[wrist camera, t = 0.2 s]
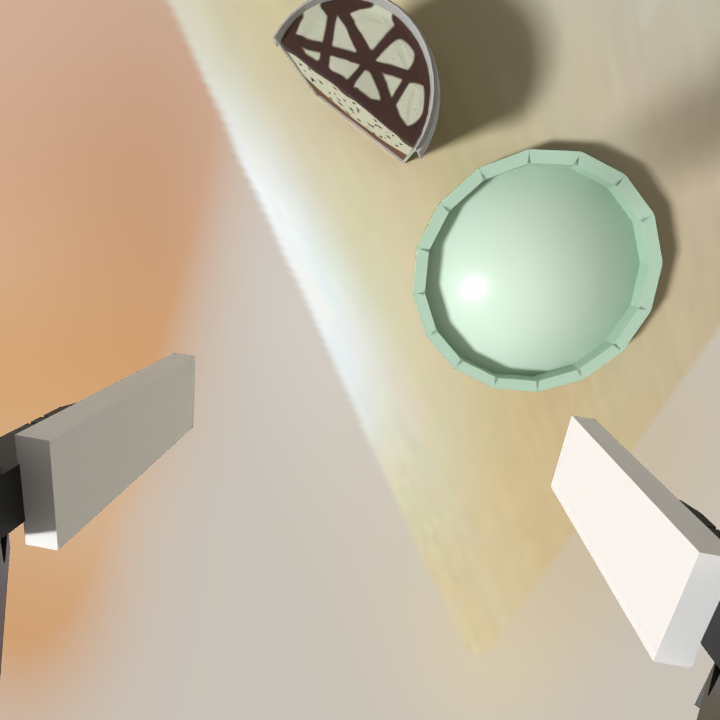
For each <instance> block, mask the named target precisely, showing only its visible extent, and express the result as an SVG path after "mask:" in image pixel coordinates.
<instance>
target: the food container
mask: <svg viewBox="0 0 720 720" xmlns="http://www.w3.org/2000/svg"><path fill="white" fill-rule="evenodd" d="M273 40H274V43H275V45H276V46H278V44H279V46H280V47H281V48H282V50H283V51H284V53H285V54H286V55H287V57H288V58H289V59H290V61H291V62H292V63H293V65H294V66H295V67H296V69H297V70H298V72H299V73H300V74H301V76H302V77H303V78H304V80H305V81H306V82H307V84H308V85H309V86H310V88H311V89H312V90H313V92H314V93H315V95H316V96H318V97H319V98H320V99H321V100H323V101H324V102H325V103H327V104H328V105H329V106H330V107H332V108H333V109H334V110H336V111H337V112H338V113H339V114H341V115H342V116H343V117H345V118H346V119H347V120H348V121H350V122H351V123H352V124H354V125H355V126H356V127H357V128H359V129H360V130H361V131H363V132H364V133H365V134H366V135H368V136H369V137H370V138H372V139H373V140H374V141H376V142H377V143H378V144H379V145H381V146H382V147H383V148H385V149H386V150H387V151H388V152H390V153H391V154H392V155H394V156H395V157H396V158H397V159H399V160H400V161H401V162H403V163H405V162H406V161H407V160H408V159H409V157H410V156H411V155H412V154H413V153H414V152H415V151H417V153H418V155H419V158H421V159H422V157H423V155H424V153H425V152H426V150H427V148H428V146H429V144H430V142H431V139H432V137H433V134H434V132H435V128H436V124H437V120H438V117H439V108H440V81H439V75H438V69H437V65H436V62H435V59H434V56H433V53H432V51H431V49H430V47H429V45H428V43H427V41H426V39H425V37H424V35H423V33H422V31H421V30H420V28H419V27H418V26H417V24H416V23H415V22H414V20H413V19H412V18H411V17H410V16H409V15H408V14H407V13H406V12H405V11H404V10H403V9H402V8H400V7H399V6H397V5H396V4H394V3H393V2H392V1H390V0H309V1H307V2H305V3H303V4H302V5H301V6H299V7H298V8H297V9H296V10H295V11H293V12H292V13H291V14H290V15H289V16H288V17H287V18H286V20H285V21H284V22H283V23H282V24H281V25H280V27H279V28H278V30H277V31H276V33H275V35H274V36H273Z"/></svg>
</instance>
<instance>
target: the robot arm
mask: <svg viewBox="0 0 720 720" xmlns="http://www.w3.org/2000/svg"><path fill="white" fill-rule="evenodd" d="M194 377H195V356H191V355H185V354H179V353H173V354H171V355H169V356H167V357H165V358H163V359H161V360H159V361H157V362H155V363H153V364H151V365H150V366H148V367H146V368H144V369H142V370H140V371H138V372H136V373H134V374H132V375H130V376H128V377H126V378H124V379H122V380H120V381H118V382H116V383H114V384H113V385H110V386H109V387H107V388H105V389H103V390H101V391H99V392H97V393H95V394H93V395H91V396H89V397H87V398H85V399H83V400H81V401H79V402H77V403H74V404H70V405H66V406H63V407H59V408H58V409H55V410H53V411H51V412H50V413H47V414H45V415H44V417H39V418H37V419H35V420H34V421H32V422H31V424H25V425H24V426H22V427H20V428H18V429H16V430H14V431H12V432H10V433H8V434H6V435H4V436H2V437H0V673H1V659H2V647H3V646H2V645H3V633H4V620H5V606H6V593H7V580H8V566H9V552H10V543H9V535H8V533H10V532H11V531H12V530H14V529H15V528H16V527H17V526H19V525H20V524H22V523H23V522H24V531H25V541H26V544H27V545H32V546H38V547H43V548H48V549H53V550H59V549H60V548H61V547H62V546H63V545H64V544H65V543H67V542H68V541H69V540H70V539H71V538H72V537H73V536H74V535H75V534H76V533H78V532H79V531H80V530H81V529H82V528H83V527H84V526H85V525H86V524H87V523H88V522H90V521H91V520H92V519H93V518H94V517H95V516H96V515H97V514H98V513H99V512H100V511H102V510H103V509H104V508H105V507H106V506H107V505H108V504H109V503H110V502H112V500H114V499H115V498H116V497H117V496H118V495H119V494H120V493H121V492H122V491H123V490H125V488H127V487H128V486H129V485H130V484H131V483H132V482H133V481H135V480H136V479H137V478H138V477H139V476H140V475H141V474H142V473H143V472H144V471H145V470H147V469H148V468H149V467H150V466H151V465H152V464H153V463H154V462H155V461H156V460H157V459H159V458H160V457H161V456H162V455H163V454H164V453H165V452H166V451H167V450H168V449H170V448H171V447H172V446H173V445H174V444H175V443H176V442H177V441H178V440H179V439H180V438H182V437H183V436H184V435H185V434H186V433H187V432H188V431H189V430H190V429H191V428H193V419H194V416H193V415H194V379H195V378H194ZM551 488H552V489H553V491H554V493H555V494H556V496H557V498H558V500H559V501H560V503H561V505H562V506H563V508H564V510H565V512H566V513H567V515H568V517H569V518H570V520H571V522H572V523H573V525H574V527H575V529H576V530H577V532H578V534H579V535H580V537H581V539H582V540H583V542H584V544H585V545H586V547H587V549H588V551H589V552H590V554H591V556H592V557H593V559H594V561H595V563H596V564H597V566H598V568H599V569H600V571H601V573H602V574H603V576H604V578H605V580H606V581H607V583H608V585H609V587H610V588H611V590H612V592H613V593H614V595H615V597H616V599H617V600H618V601H619V604H620V605H621V607H622V608H623V610H624V612H625V614H626V616H627V617H628V619H629V621H630V622H631V624H632V625H633V628H634V629H635V631H636V633H637V634H638V636H639V638H640V639H641V641H642V643H643V644H644V646H645V648H646V650H647V651H648V653H649V655H650V656H651V658H652V660H653V661H656V662H660V663H666V664H671V665H677V666H682V667H688V668H691V667H692V665H693V662H694V660H695V658H696V656H697V654H698V652H699V649H700V647H701V645H702V646H703V647H704V648H705V650H706V651H707V652H708V654H709V655H710V657H711V658H712V659H713V661H714V662H715V663H714V665H713V667H712V670H711V672H710V674H709V676H708V678H707V680H706V682H705V684H704V686H703V688H702V691H701V692H700V694H699V697H698V699H697V701H696V703H695V705H696V706H697V707H699V708H700V710H699V714H698V718H697V720H720V530H717V529H716V527H715V526H714V525H713V524H712V523H711V522H710V521H709V520H708V519H707V518H706V517H705V516H704V515H702V514H701V513H700V512H698V511H697V510H695V509H693V508H692V507H690V506H689V505H687V504H686V503H684V502H683V501H681V500H678V499H677V498H676V497H675V496H674V495H673V494H672V493H671V492H670V491H669V490H668V489H667V488H666V487H665V486H664V485H663V484H662V483H661V482H660V481H659V480H658V479H657V478H656V477H654V476H653V475H652V474H651V473H650V472H649V471H648V470H647V469H646V468H645V467H644V466H643V465H642V464H641V463H640V462H639V461H638V460H637V459H636V458H635V457H634V456H633V455H632V454H631V453H630V452H629V451H627V450H626V449H625V448H624V447H623V446H622V445H621V444H620V443H619V442H618V441H617V440H616V439H615V438H614V437H613V436H612V435H611V434H610V433H609V432H608V431H607V430H606V429H605V428H604V427H603V426H602V425H600V424H599V423H598V422H597V421H596V420H595V419H590V418H584V417H578V416H572V417H571V420H570V424H569V427H568V430H567V434H566V437H565V441H564V444H563V447H562V451H561V454H560V457H559V461H558V464H557V468H556V471H555V474H554V478H553V481H552V485H551Z"/></svg>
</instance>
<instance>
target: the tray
mask: <svg viewBox="0 0 720 720" xmlns="http://www.w3.org/2000/svg"><path fill="white" fill-rule="evenodd" d="M653 214H654V213H653V212H652V210H651V209H650V208H649V206H648V205H647V203H646V202H645V201H644V199H643V198H642V197H641V195H640V194H639V192H638V191H637V190H636V188H635V187H634V186H633V184H632V183H631V181H630V180H629V179H628V177H627V176H626V175H625V174H623V173H622V172H620V171H618V170H616V169H614V168H612V167H610V166H608V165H606V164H604V163H602V162H600V161H599V160H597V159H595V158H593V157H591V156H589V155H587V154H585V153H583V152H580V151H561V150H538V149H529V150H525V151H523V152H520V153H517V154H515V155H512V156H509V157H507V158H504V159H501V160H499V161H496V162H493V163H491V164H488V165H485V166H483V167H480V168H478V169H477V170H476V171H475V172H474V173H473V174H472V175H470V176H469V177H468V178H467V179H466V180H465V181H464V182H463V183H462V184H461V185H459V186H458V187H457V188H456V189H455V190H454V191H453V192H452V193H451V194H449V195H448V196H447V197H446V198H445V199H444V200H443V201H442V202H441V203H439V204H438V205H437V207H436V209H435V211H434V213H433V215H432V217H431V219H430V221H429V223H428V225H427V227H426V229H425V231H424V233H423V235H422V237H421V239H420V241H419V243H418V245H417V247H418V248H417V247H416V259H415V270H414V281H413V295H414V299H415V302H416V305H417V308H418V311H419V314H420V318H421V321H422V324H423V327H424V330H425V333H426V336H427V338H428V339H429V340H430V341H431V342H432V343H433V345H434V346H435V347H436V348H437V349H438V350H439V352H440V353H441V354H442V355H443V356H444V357H445V358H446V360H447V361H448V362H449V363H450V364H451V365H452V367H453V368H455V369H456V370H458V371H460V372H462V373H464V374H466V375H468V376H470V377H472V378H474V379H476V380H478V381H480V382H482V383H484V384H486V385H488V386H490V387H492V388H498V389H510V390H522V391H534V392H537V391H538V392H539V391H542V390H546V389H550V388H553V387H557V386H560V385H564V384H568V383H571V382H575V381H578V380H582V378H583V379H584V378H585V377H587V376H588V375H590V374H591V373H593V372H594V371H595V370H597V369H598V368H600V367H601V366H602V365H604V364H605V363H607V362H608V361H610V360H611V359H612V358H614V357H615V356H617V355H618V354H620V353H621V352H622V351H623V350H624V349H625V347H626V346H627V344H628V343H629V342H630V340H631V339H632V337H633V336H634V334H635V333H636V332H637V330H638V329H639V327H640V326H641V324H642V323H643V322H644V320H645V319H646V317H647V316H648V314H649V313H650V312H651V311H650V310H651V309H652V305H653V301H654V297H655V293H656V289H657V285H658V280H659V276H660V272H661V268H662V264H663V263H661V262H663V261H662V255H661V249H660V244H659V238H658V232H657V227H656V221H655V215H653ZM621 350H622V351H621Z"/></svg>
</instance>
